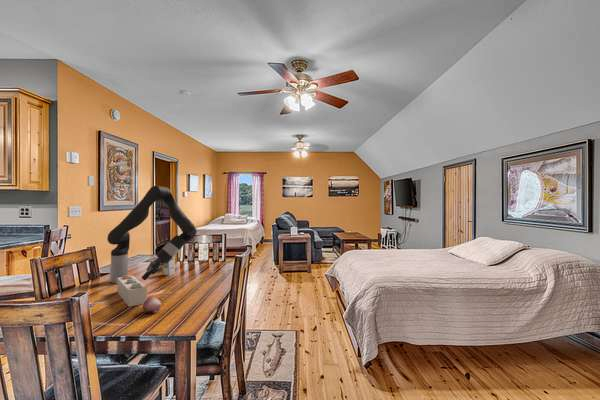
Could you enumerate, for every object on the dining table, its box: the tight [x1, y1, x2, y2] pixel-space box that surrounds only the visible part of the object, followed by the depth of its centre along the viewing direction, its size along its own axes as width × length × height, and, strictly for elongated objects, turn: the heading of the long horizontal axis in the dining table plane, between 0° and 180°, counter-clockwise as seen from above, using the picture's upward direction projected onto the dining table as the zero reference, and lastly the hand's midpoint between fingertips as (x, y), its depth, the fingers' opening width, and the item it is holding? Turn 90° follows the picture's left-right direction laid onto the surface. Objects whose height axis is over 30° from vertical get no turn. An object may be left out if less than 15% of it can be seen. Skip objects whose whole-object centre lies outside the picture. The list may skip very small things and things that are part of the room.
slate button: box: [127, 279, 135, 284], centre depth 162 cm, size 4×4×2 cm
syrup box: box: [162, 255, 176, 277], centre depth 209 cm, size 6×6×14 cm
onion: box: [142, 296, 162, 314], centre depth 141 cm, size 8×8×7 cm
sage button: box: [132, 283, 141, 289], centre depth 153 cm, size 4×4×2 cm
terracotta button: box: [123, 274, 132, 280], centre depth 170 cm, size 4×4×2 cm
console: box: [116, 275, 148, 307], centre depth 162 cm, size 30×8×8 cm, turn 41°
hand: (143, 279), depth 155 cm, fingers closed
